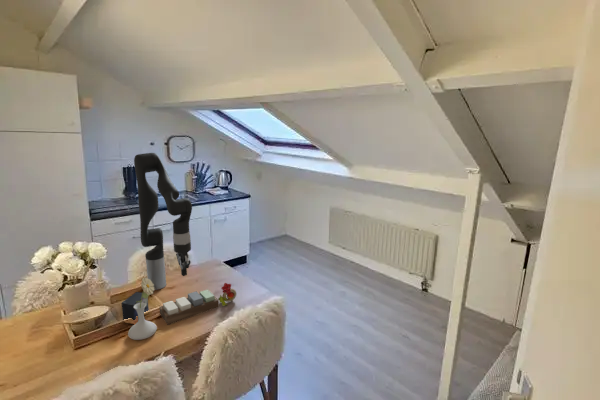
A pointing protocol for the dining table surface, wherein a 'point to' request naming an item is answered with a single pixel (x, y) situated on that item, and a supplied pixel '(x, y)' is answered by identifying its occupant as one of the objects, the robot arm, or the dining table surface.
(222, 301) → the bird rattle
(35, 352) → the dining table surface
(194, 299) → the key slate
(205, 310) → the keybed
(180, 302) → the key ivory inner
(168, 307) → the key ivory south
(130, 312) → the small box
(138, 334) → the flower in vase
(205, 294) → the key sage
